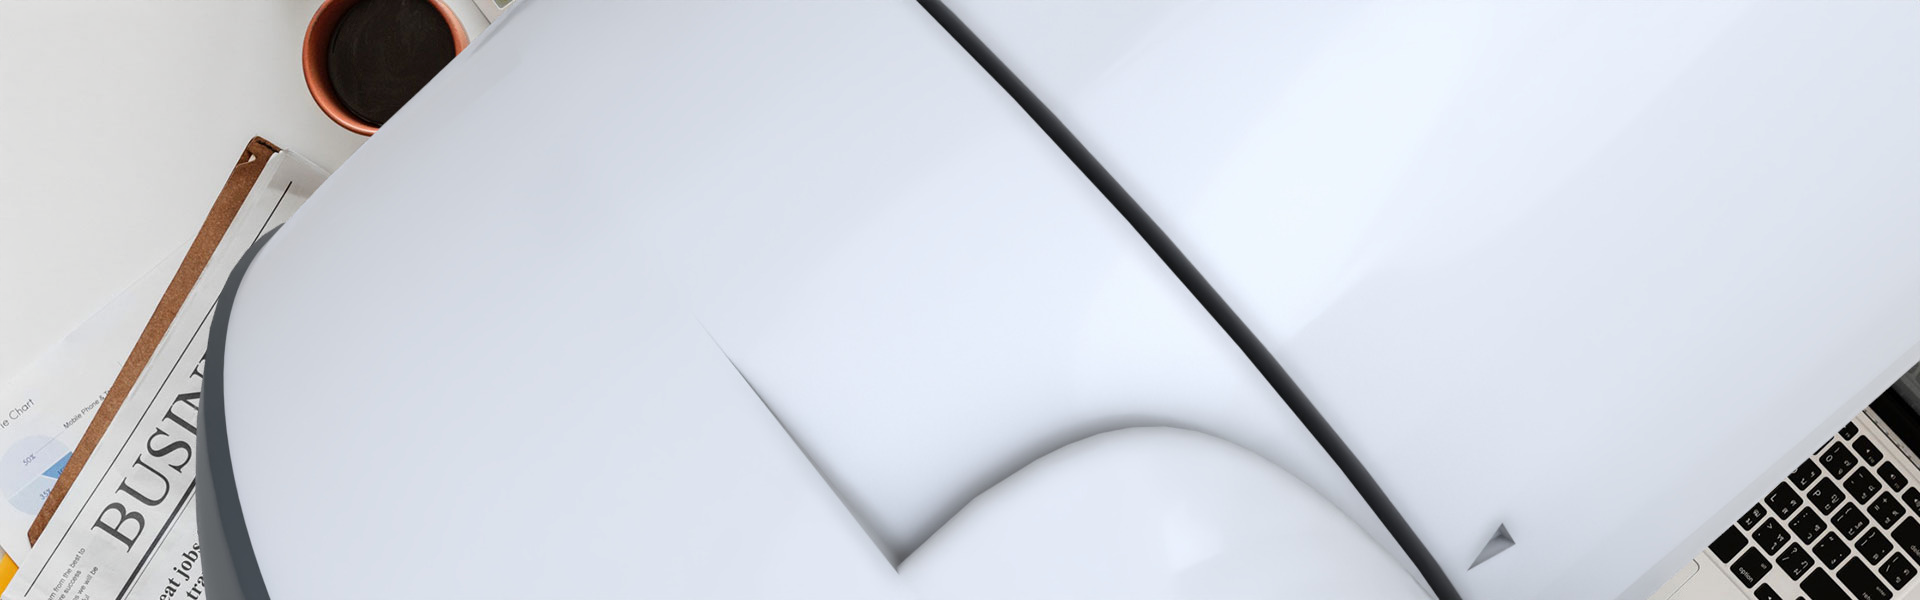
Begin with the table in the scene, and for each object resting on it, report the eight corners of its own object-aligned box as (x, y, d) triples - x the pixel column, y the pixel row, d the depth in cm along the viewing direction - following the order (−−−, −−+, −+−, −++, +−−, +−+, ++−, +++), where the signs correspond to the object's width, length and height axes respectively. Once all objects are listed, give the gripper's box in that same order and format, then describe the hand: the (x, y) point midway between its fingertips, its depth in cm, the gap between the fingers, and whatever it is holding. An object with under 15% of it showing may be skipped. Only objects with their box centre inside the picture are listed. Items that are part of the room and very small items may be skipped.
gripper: (1076, 107, 18) (1010, 171, 32) (1112, 1270, 19) (1033, 838, 32) (1445, 95, 18) (1220, 164, 32) (1464, 1247, 19) (1236, 827, 33)
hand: (1125, 510), depth 32 cm, fingers closed on supplement bottle, 5 cm apart
